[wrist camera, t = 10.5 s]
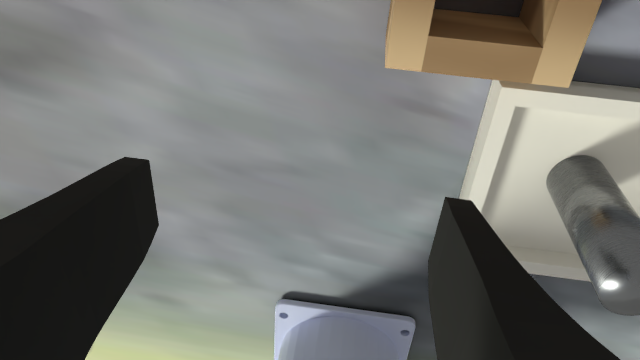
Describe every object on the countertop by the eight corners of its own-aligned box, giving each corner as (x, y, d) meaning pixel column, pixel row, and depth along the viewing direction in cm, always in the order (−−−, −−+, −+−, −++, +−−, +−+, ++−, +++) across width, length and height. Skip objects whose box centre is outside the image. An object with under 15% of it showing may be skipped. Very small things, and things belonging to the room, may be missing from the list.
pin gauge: (596, 202, 22) (665, 318, 16) (540, 200, 22) (589, 312, 17) (613, 156, 20) (694, 265, 15) (553, 153, 21) (611, 260, 15)
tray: (630, 266, 24) (643, 288, 23) (446, 242, 25) (449, 262, 23) (729, 98, 19) (752, 115, 18) (494, 72, 19) (501, 87, 18)
